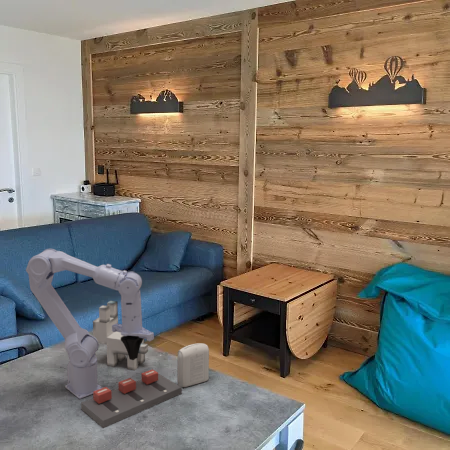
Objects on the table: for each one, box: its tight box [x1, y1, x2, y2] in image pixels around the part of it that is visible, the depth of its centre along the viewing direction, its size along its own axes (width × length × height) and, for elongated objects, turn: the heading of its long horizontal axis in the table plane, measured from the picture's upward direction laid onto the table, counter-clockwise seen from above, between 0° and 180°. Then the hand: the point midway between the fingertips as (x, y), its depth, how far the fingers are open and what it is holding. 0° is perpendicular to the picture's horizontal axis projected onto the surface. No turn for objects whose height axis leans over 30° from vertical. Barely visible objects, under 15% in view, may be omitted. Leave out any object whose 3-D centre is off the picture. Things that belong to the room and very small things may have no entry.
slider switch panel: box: [80, 373, 183, 429], centre depth 139 cm, size 12×26×2 cm, turn 134°
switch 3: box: [140, 369, 159, 384], centre depth 146 cm, size 3×4×2 cm
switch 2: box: [117, 377, 136, 394], centre depth 141 cm, size 3×4×2 cm
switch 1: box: [92, 386, 113, 404], centre depth 135 cm, size 3×4×2 cm
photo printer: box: [176, 342, 210, 388], centre depth 150 cm, size 10×4×12 cm, turn 123°
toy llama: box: [92, 300, 149, 372], centre depth 161 cm, size 8×18×20 cm, turn 72°
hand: (133, 358), depth 143 cm, fingers closed
